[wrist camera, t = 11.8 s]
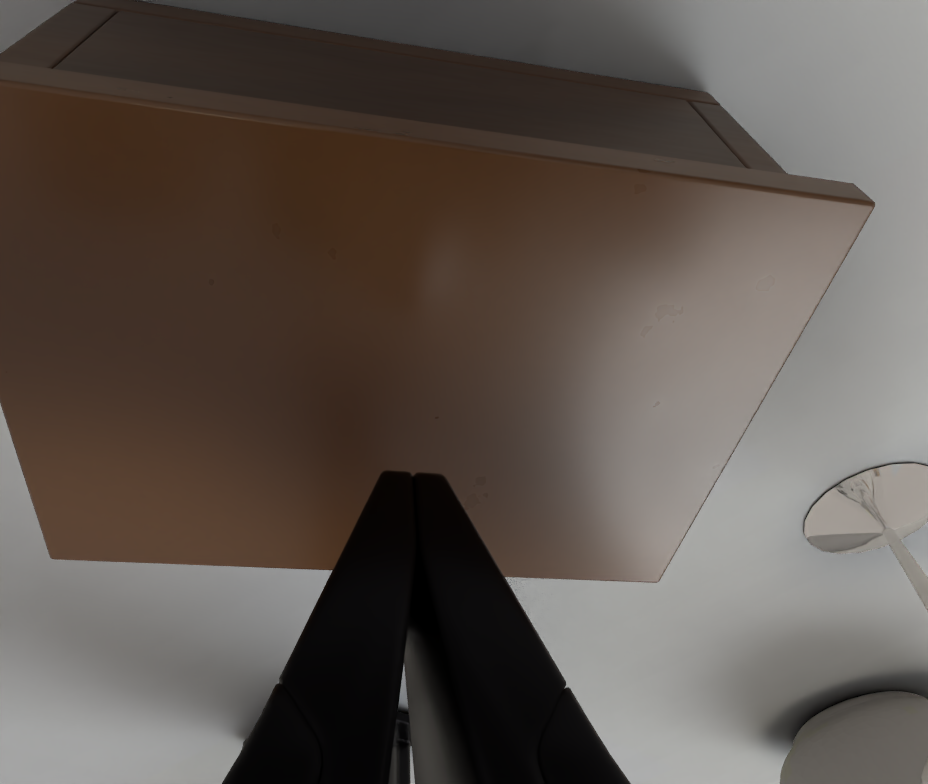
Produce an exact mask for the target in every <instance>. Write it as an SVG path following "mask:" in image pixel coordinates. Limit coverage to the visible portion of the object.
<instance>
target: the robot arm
mask: <svg viewBox="0 0 928 784" xmlns="http://www.w3.org/2000/svg"><path fill="white" fill-rule="evenodd" d="M403 664H404V666H405V677H406V688H407V699H408V710H409V715H408V714H405V713H402V712H398V703H399V695H400V687H401V680H402V672H403ZM565 686H566V681H565V680H564V678H563V676H562V674H561V673H560V671H559V669H558V668H557V666H556V664H555V662H554V661H553V659H552V657H551V656H550V654H549V652H548V651H547V649H546V647H545V645H544V644H543V642H542V640H541V639H540V637H539V635H538V633H537V632H536V630H535V628H534V627H533V625H532V623H531V622H530V620H529V618H528V616H527V615H526V613H525V611H524V610H523V608H522V606H521V604H520V603H519V601H518V599H517V598H516V596H515V594H514V592H513V591H512V589H511V587H510V586H509V584H508V582H507V581H506V579H505V577H504V575H503V574H502V572H501V570H500V569H499V567H498V565H497V563H496V562H495V560H494V558H493V557H492V555H491V553H490V552H489V550H488V548H487V546H486V545H485V543H484V541H483V540H482V538H481V536H480V534H479V533H478V531H477V529H476V528H475V526H474V524H473V523H472V521H471V519H470V517H469V516H468V514H467V512H466V511H465V509H464V507H463V505H462V504H461V502H460V500H459V499H458V497H457V495H456V494H455V492H454V490H453V488H452V487H451V485H450V483H449V482H448V480H447V478H446V477H445V476H444V475H442V474H439V473H424V472H417V473H415V474H414V475H413V476H412V474H411V473H410V472H407V471H392V470H385V471H383V472H382V473H381V474H380V476H379V478H378V480H377V482H376V484H375V486H374V488H373V490H372V492H371V494H370V496H369V498H368V500H367V502H366V504H365V506H364V508H363V510H362V512H361V514H360V516H359V518H358V520H357V522H356V524H355V526H354V528H353V530H352V532H351V534H350V536H349V538H348V541H347V543H346V545H345V547H344V549H343V551H342V553H341V555H340V557H339V559H338V561H337V563H336V565H335V567H334V569H333V571H332V573H331V575H330V577H329V579H328V581H327V583H326V585H325V587H324V589H323V591H322V593H321V595H320V597H319V599H318V601H317V603H316V605H315V607H314V609H313V611H312V613H311V615H310V617H309V619H308V621H307V623H306V625H305V627H304V630H303V632H302V634H301V636H300V638H299V640H298V642H297V644H296V646H295V648H294V650H293V652H292V654H291V656H290V658H289V660H288V662H287V664H286V666H285V668H284V670H283V672H282V674H281V676H280V678H279V684H276V685H275V687H274V689H273V691H272V693H271V695H270V697H269V699H268V701H267V703H266V705H265V707H264V709H263V711H262V713H261V715H260V717H259V719H258V721H257V723H256V725H255V726H254V728H253V730H252V732H251V734H250V736H249V738H248V739H246V740H245V741H244V742H243V748H242V751H241V753H240V754H239V756H238V758H237V759H236V761H235V763H234V764H233V766H232V768H231V769H230V771H229V773H228V774H227V776H226V777H225V779H224V781H223V782H222V784H410V746H412V753H413V764H414V775H415V784H631V783H630V782H629V781H628V779H627V778H626V776H625V775H624V773H623V772H622V771H621V769H620V768H619V766H618V765H617V763H616V762H615V761H614V759H613V758H612V756H611V755H610V753H609V752H608V750H607V749H606V747H605V745H604V744H603V742H602V741H601V739H600V737H599V736H598V734H597V733H596V731H595V729H594V728H593V726H592V725H591V723H590V721H589V720H588V718H587V717H586V715H585V713H584V712H583V710H582V708H581V706H580V705H579V703H578V701H577V700H576V698H575V696H574V694H573V693H572V691H571V689H570V688H565ZM564 688H565V689H564Z"/></svg>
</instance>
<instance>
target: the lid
mask: <svg viewBox="0 0 928 784" xmlns="http://www.w3.org/2000/svg"><path fill="white" fill-rule="evenodd" d="M874 207H875V202H874V201H873V200H872V199H870V198H869V197H868V196H867V195H866V194H865V193H864V192H862V191H861V190H860V189H859V188H858V187H857V186H856V185H854V184H853V183H846V182H839V181H832V180H825V179H818V178H811V177H804V176H797V175H790V174H783V173H776V172H769V171H762V170H755V169H748V168H741V167H734V166H727V165H720V164H713V163H706V162H699V161H692V160H685V159H678V158H671V157H664V156H657V155H650V154H643V153H636V152H629V151H623V150H616V149H609V148H602V147H595V146H588V145H581V144H574V143H567V142H560V141H553V140H546V139H539V138H532V137H525V136H518V135H511V134H504V133H497V132H490V131H483V130H476V129H469V128H462V127H455V126H448V125H441V124H434V123H427V122H420V121H413V120H406V119H399V118H392V117H385V116H378V115H371V114H364V113H357V112H351V111H344V110H337V109H330V108H323V107H316V106H309V105H302V104H295V103H288V102H281V101H274V100H267V99H260V98H253V97H246V96H239V95H232V94H225V93H218V92H211V91H204V90H197V89H190V88H183V87H176V86H169V85H162V84H155V83H148V82H141V81H134V80H127V79H120V78H113V77H106V76H99V75H92V74H85V73H78V72H72V71H65V70H58V69H51V68H44V67H37V66H30V65H23V64H16V63H9V62H2V61H0V403H1V407H2V410H3V413H4V416H5V419H6V422H7V425H8V428H9V431H10V434H11V437H12V441H13V444H14V447H15V450H16V453H17V456H18V459H19V462H20V465H21V468H22V472H23V475H24V478H25V481H26V484H27V487H28V490H29V493H30V496H31V499H32V503H33V506H34V509H35V512H36V515H37V518H38V521H39V524H40V527H41V530H42V533H43V537H44V540H45V543H46V546H47V549H48V552H49V555H50V558H51V559H58V560H84V561H110V562H135V563H161V564H187V565H213V566H239V567H264V568H290V569H316V570H333V569H334V567H335V565H336V563H337V561H338V559H339V557H340V555H341V553H342V551H343V549H344V547H345V545H346V543H347V541H348V538H349V536H350V534H351V532H352V530H353V528H354V526H355V524H356V522H357V520H358V518H359V516H360V514H361V512H362V510H363V508H364V506H365V504H366V502H367V500H368V498H369V496H370V494H371V492H372V490H373V488H374V486H375V484H376V482H377V480H378V478H379V476H380V474H381V473H382V472H383V471H385V470H392V471H407V472H410V473H411V474H412V476H413V475H414V474H415V473H417V472H424V473H439V474H442V475H444V476H445V477H446V478H447V480H448V482H449V483H450V485H451V487H452V488H453V490H454V492H455V494H456V495H457V497H458V499H459V500H460V502H461V504H462V505H463V507H464V509H465V511H466V512H467V514H468V516H469V517H470V519H471V521H472V523H473V524H474V526H475V528H476V529H477V531H478V533H479V534H480V536H481V538H482V540H483V541H484V543H485V545H486V546H487V548H488V550H489V552H490V553H491V555H492V557H493V558H494V560H495V562H496V563H497V565H498V567H499V569H500V570H501V572H502V574H503V575H504V577H523V578H549V579H574V580H600V581H626V582H652V583H657V582H659V580H660V579H661V577H662V575H663V573H664V572H665V570H666V568H667V566H668V565H669V563H670V561H671V559H672V558H673V556H674V554H675V552H676V551H677V549H678V547H679V546H680V544H681V542H682V540H683V539H684V537H685V535H686V533H687V532H688V530H689V528H690V526H691V525H692V523H693V521H694V520H695V518H696V516H697V514H698V513H699V511H700V509H701V507H702V506H703V504H704V502H705V500H706V499H707V497H708V495H709V493H710V492H711V490H712V488H713V487H714V485H715V483H716V481H717V480H718V478H719V476H720V474H721V473H722V471H723V469H724V467H725V466H726V464H727V462H728V460H729V459H730V457H731V455H732V454H733V452H734V450H735V448H736V447H737V445H738V443H739V441H740V440H741V438H742V436H743V434H744V433H745V431H746V429H747V427H748V426H749V424H750V422H751V421H752V419H753V417H754V415H755V414H756V412H757V410H758V408H759V407H760V405H761V403H762V401H763V400H764V398H765V396H766V394H767V393H768V391H769V389H770V388H771V386H772V384H773V382H774V381H775V379H776V377H777V375H778V374H779V372H780V370H781V368H782V367H783V365H784V363H785V362H786V360H787V358H788V356H789V355H790V353H791V351H792V349H793V348H794V346H795V344H796V342H797V341H798V339H799V337H800V335H801V334H802V332H803V330H804V329H805V327H806V325H807V323H808V322H809V320H810V318H811V316H812V315H813V313H814V311H815V309H816V308H817V306H818V304H819V302H820V301H821V299H822V297H823V296H824V294H825V292H826V290H827V289H828V287H829V285H830V283H831V282H832V280H833V278H834V276H835V275H836V273H837V271H838V269H839V268H840V266H841V264H842V263H843V261H844V259H845V257H846V256H847V254H848V252H849V250H850V249H851V247H852V245H853V243H854V242H855V240H856V238H857V237H858V235H859V233H860V231H861V230H862V228H863V226H864V224H865V223H866V221H867V219H868V217H869V216H870V214H871V212H872V210H873V209H874Z"/></svg>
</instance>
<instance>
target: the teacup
mask: <svg viewBox="0 0 928 784" xmlns="http://www.w3.org/2000/svg"><path fill="white" fill-rule="evenodd" d="M927 756H928V699H926V698H924V697H922V696H920V695H917V694H913V693H908V692H901V691H887V692H878V693H872V694H867V695H863V696H859V697H856V698H853V699H849V700H846V701H843V702H841V703H839V704H836V705H834V706H832V707H830V708H828V709H826V710H824V711H822V712H820V713H819V714H817V715H816V716H814V717H813V718H811V719H810V720H809V721H807V722H806V723H805V724H804V725H803V726H802V728H801V729H800V730H799V732H798V733H797V735H796V737H795V739H794V741H793V747H792V749H791V750H790V752H789V753H788V755H787V757H786V759H785V762H784V764H783V767H782V770H781V775H780V784H919V781H920V778H921V775H922V772H923V769H924V765H925V762H926V759H927Z"/></svg>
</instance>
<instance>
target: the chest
mask: <svg viewBox="0 0 928 784" xmlns="http://www.w3.org/2000/svg"><path fill="white" fill-rule="evenodd" d="M0 61H2V62H9V63H16V64H23V65H30V66H37V67H44V68H51V69H58V70H65V71H72V72H78V73H85V74H92V75H99V76H106V77H113V78H120V79H127V80H134V81H141V82H148V83H155V84H162V85H169V86H176V87H183V88H190V89H197V90H204V91H211V92H218V93H225V94H232V95H239V96H246V97H253V98H260V99H267V100H274V101H281V102H288V103H295V104H302V105H309V106H316V107H323V108H330V109H337V110H344V111H351V112H357V113H364V114H371V115H378V116H385V117H392V118H399V119H406V120H413V121H420V122H427V123H434V124H441V125H448V126H455V127H462V128H469V129H476V130H483V131H490V132H497V133H504V134H511V135H518V136H525V137H532V138H539V139H546V140H553V141H560V142H567V143H574V144H581V145H588V146H595V147H602V148H609V149H616V150H623V151H629V152H636V153H643V154H650V155H657V156H664V157H671V158H678V159H685V160H692V161H699V162H706V163H713V164H720V165H727V166H734V167H741V168H748V169H755V170H762V171H769V172H776V173H783V174H787V173H786V172H785V171H784V170H783V169H782V168H781V167H780V166H779V165H778V163H777V162H776V161H775V160H774V159H773V158H772V157H771V156H770V155H769V154H768V153H767V152H766V151H765V150H764V149H763V148H762V147H761V146H760V145H759V144H758V143H757V142H756V141H755V140H754V139H753V138H752V137H751V136H750V135H749V134H748V133H747V132H746V131H745V130H744V129H743V128H742V127H741V126H740V125H739V124H738V123H737V122H736V121H735V120H734V118H733V117H732V116H731V115H730V114H729V113H728V112H727V111H726V110H725V109H724V108H723V107H721V106H720V104H719V103H718V102H717V101H716V100H715V99H714V98H713V97H712V96H711V95H710V94H709V93H707V92H700V91H694V90H688V89H682V88H676V87H669V86H663V85H657V84H651V83H644V82H638V81H632V80H626V79H620V78H613V77H607V76H601V75H595V74H589V73H582V72H576V71H570V70H564V69H557V68H551V67H545V66H539V65H533V64H526V63H520V62H514V61H508V60H501V59H495V58H489V57H483V56H477V55H470V54H464V53H458V52H452V51H445V50H439V49H433V48H427V47H421V46H414V45H408V44H402V43H396V42H389V41H383V40H377V39H371V38H365V37H358V36H352V35H346V34H340V33H333V32H327V31H321V30H315V29H309V28H302V27H296V26H290V25H284V24H277V23H271V22H265V21H259V20H253V19H246V18H240V17H234V16H228V15H221V14H215V13H209V12H203V11H197V10H190V9H184V8H178V7H172V6H165V5H159V4H153V3H147V2H141V1H134V0H76V1H75V2H74V3H71V4H69V5H68V6H66V7H65V8H63V9H62V10H61V11H59V12H58V13H56V14H55V15H54V16H52V17H51V18H50V19H48V20H47V21H45V22H44V23H43V24H41V25H40V26H38V27H37V28H36V29H34V30H33V31H31V32H30V33H29V34H27V35H26V36H24V37H23V38H22V39H20V40H19V41H17V42H16V43H15V44H13V45H12V46H10V47H9V48H8V49H6V50H5V51H3V52H2V53H1V54H0Z"/></svg>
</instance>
